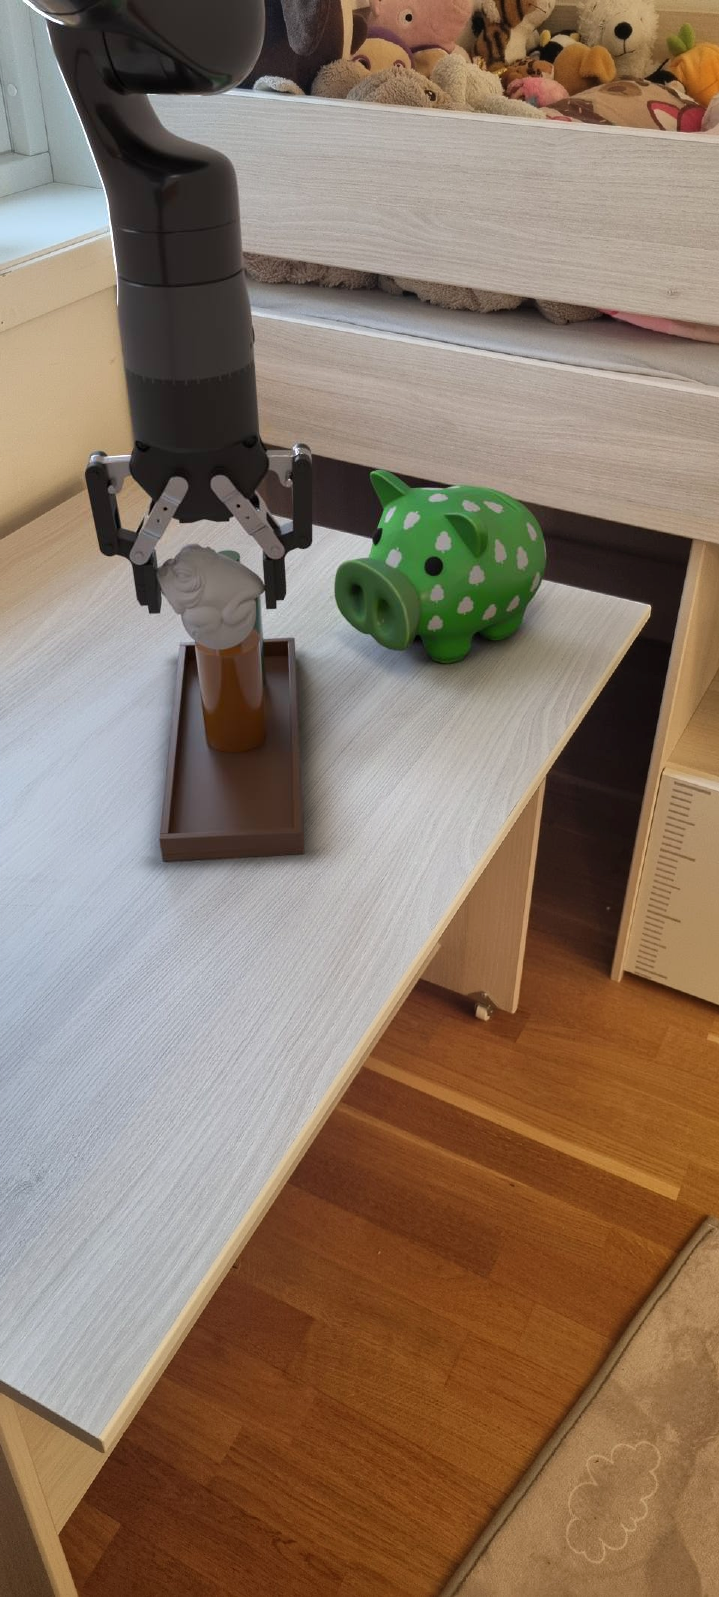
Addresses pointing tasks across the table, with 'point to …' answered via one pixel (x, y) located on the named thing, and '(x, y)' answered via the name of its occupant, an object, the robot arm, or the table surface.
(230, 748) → the amber bottle
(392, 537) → the piggy bank
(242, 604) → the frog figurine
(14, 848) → the table surface
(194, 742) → the tray
